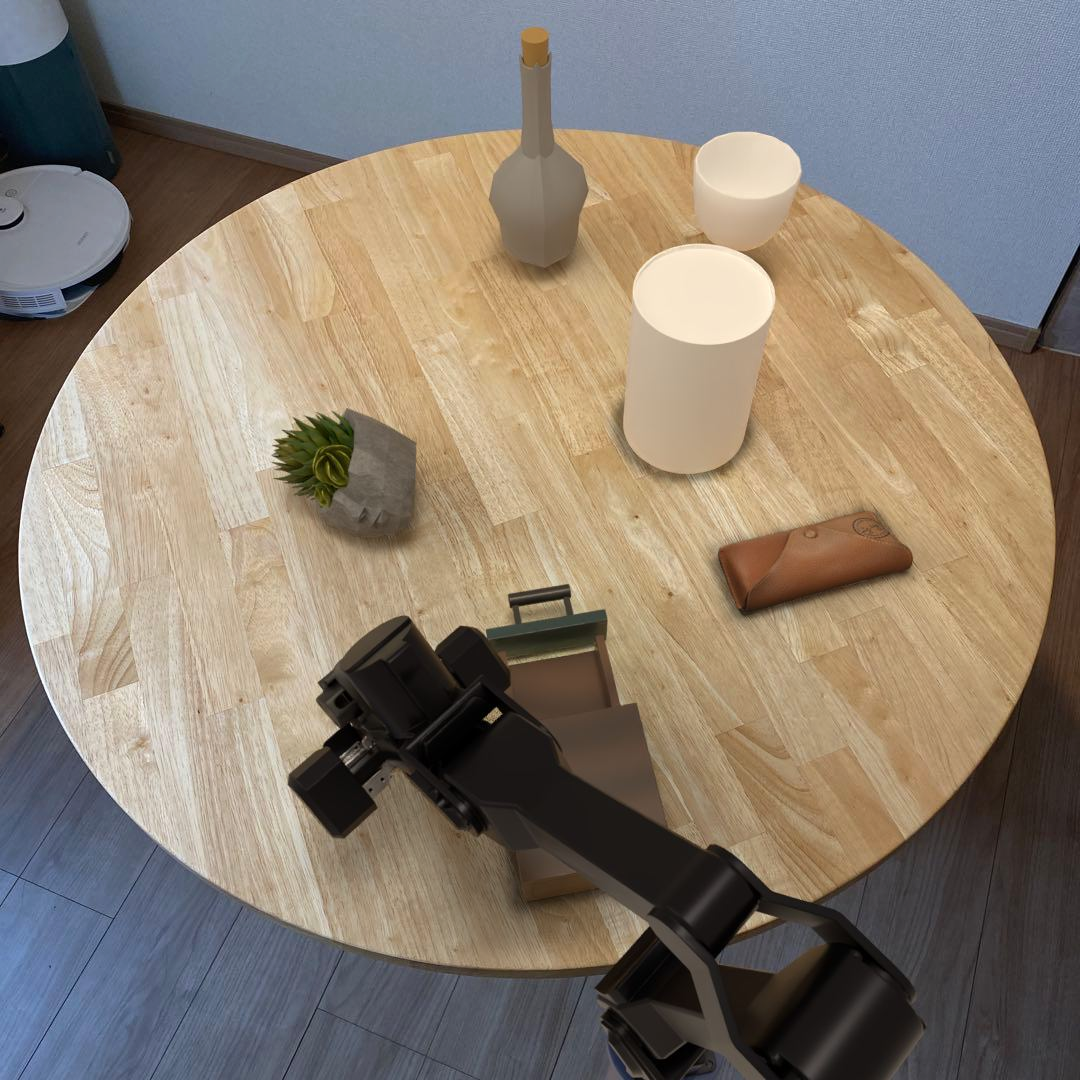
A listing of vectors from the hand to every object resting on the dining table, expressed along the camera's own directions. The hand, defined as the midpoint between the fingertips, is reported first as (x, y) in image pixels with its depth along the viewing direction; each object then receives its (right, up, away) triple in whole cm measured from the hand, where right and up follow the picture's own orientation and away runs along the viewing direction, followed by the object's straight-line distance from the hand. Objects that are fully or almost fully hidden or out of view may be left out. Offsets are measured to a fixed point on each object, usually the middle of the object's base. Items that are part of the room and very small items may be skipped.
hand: (368, 710), depth 89 cm
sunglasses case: (+42, +12, +18) cm, 47 cm away
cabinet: (+18, -10, +4) cm, 21 cm away
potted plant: (-5, +18, +23) cm, 29 cm away
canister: (+31, +27, +28) cm, 50 cm away
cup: (+38, +46, +40) cm, 72 cm away
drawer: (+16, +1, +10) cm, 19 cm away
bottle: (+15, +49, +42) cm, 67 cm away
